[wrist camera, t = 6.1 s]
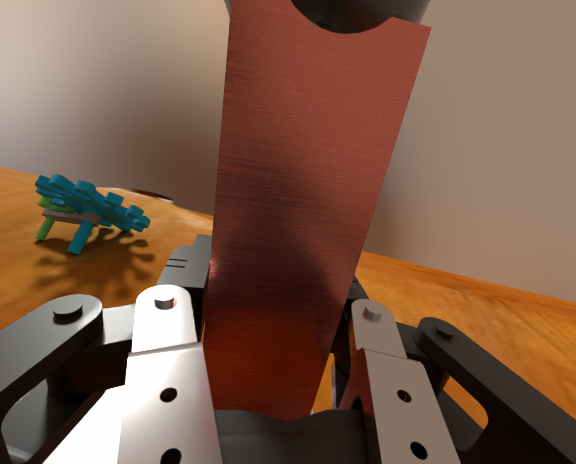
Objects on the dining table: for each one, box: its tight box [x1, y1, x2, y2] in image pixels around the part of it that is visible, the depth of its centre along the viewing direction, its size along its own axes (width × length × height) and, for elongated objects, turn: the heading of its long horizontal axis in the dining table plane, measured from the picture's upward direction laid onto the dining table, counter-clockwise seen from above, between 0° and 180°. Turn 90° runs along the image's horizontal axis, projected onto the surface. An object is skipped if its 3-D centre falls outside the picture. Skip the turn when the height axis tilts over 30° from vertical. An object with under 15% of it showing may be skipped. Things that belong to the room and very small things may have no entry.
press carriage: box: [43, 0, 431, 464], centre depth 9 cm, size 10×7×19 cm
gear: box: [35, 175, 150, 255], centre depth 28 cm, size 11×6×10 cm
